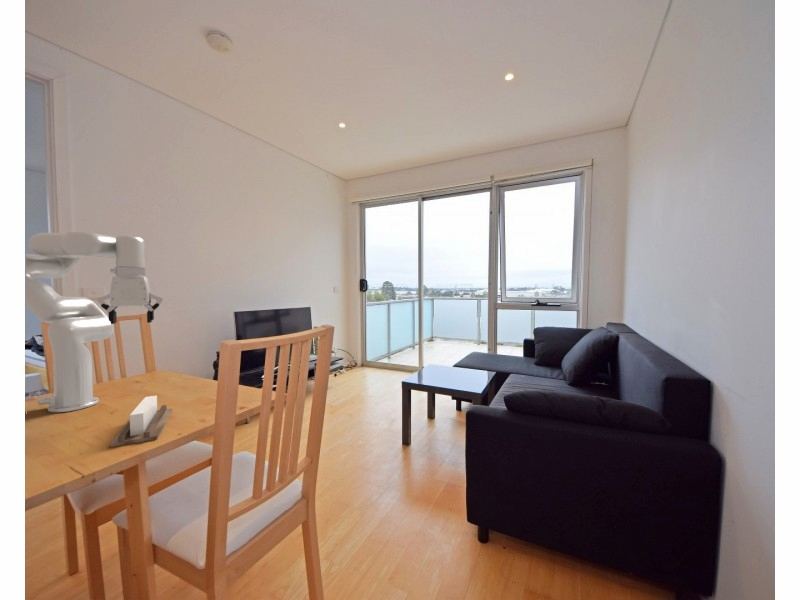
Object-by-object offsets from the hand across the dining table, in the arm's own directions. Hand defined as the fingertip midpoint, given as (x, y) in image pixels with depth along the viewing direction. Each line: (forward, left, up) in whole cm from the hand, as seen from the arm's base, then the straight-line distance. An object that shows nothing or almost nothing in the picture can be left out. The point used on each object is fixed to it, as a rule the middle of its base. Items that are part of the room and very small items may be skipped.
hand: (132, 322), depth 107 cm
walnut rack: (+7, -18, -30) cm, 36 cm away
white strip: (+7, -18, -29) cm, 35 cm away
